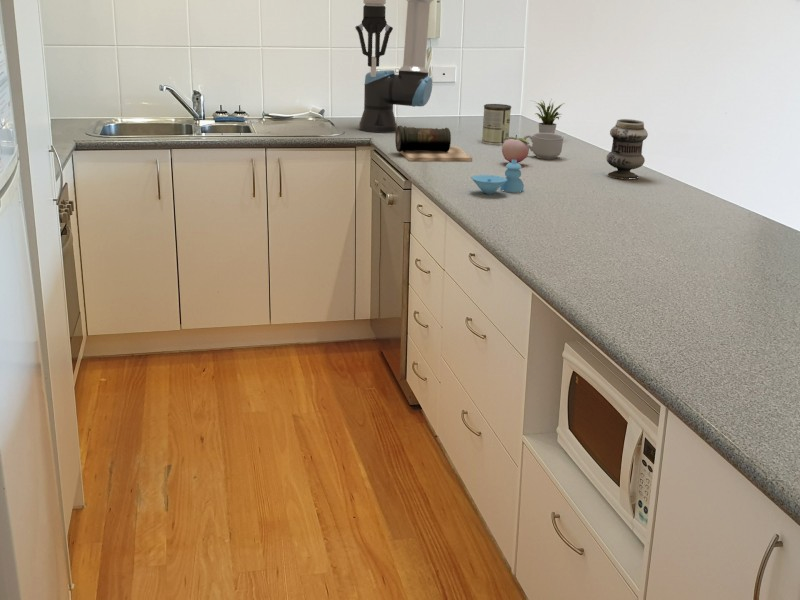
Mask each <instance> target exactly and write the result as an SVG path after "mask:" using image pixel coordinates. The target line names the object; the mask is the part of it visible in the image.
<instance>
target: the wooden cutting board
mask: <svg viewBox="0 0 800 600" xmlns="http://www.w3.org/2000/svg"><path fill="white" fill-rule="evenodd" d="M399 153H400V154H401V155H402V156H403V157H404V158H405V159H406V160H407V161H408V162H473V157H472V156H471V155H469V154H468V153H467V152H465V151H463V150H462V149H461V148H460V147H458V146H453V145H452V146H451V145H450V149H449V151H448V152H444V151H421V150H414V151H407V150H406V151H405V152H404V151H403V150H402V151H401V152H399Z"/></svg>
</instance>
